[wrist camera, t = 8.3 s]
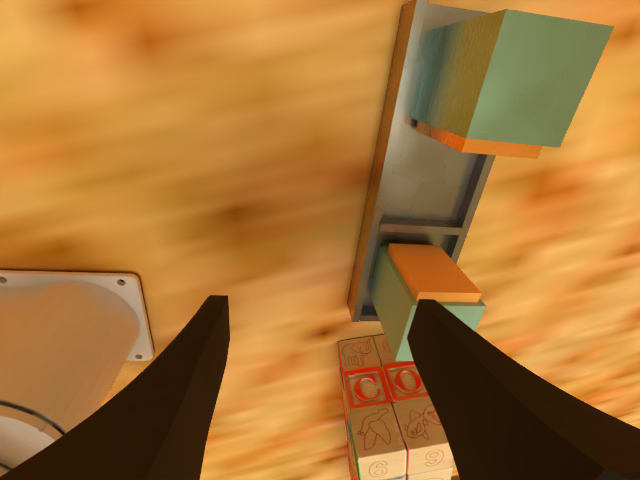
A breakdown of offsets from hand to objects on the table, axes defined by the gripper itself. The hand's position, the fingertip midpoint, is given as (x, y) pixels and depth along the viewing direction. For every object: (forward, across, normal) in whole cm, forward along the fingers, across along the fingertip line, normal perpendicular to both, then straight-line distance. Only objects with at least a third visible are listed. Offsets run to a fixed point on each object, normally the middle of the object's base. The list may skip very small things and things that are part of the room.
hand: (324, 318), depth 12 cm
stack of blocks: (+10, -9, +21) cm, 25 cm away
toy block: (+9, -7, +4) cm, 12 cm away
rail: (+10, -7, -2) cm, 12 cm away
